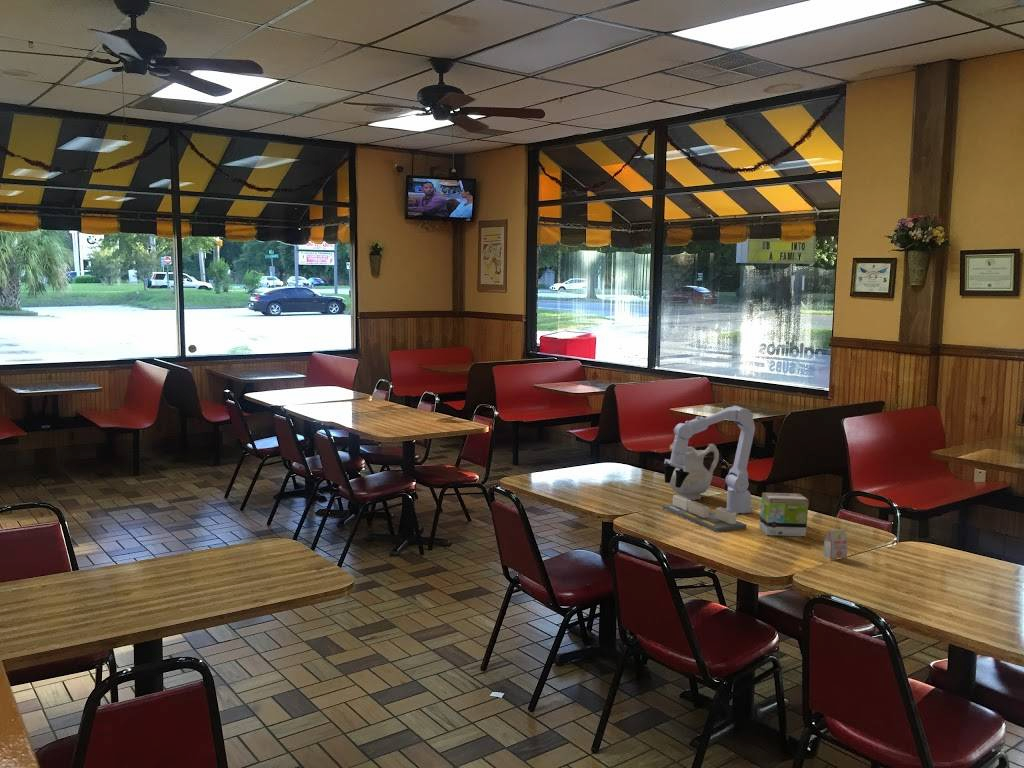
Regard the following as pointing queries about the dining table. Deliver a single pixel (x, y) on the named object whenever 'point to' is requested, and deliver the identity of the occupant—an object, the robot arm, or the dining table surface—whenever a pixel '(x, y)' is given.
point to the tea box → (783, 514)
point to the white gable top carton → (835, 544)
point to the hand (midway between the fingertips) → (672, 485)
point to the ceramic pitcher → (695, 473)
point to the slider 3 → (725, 515)
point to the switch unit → (705, 519)
